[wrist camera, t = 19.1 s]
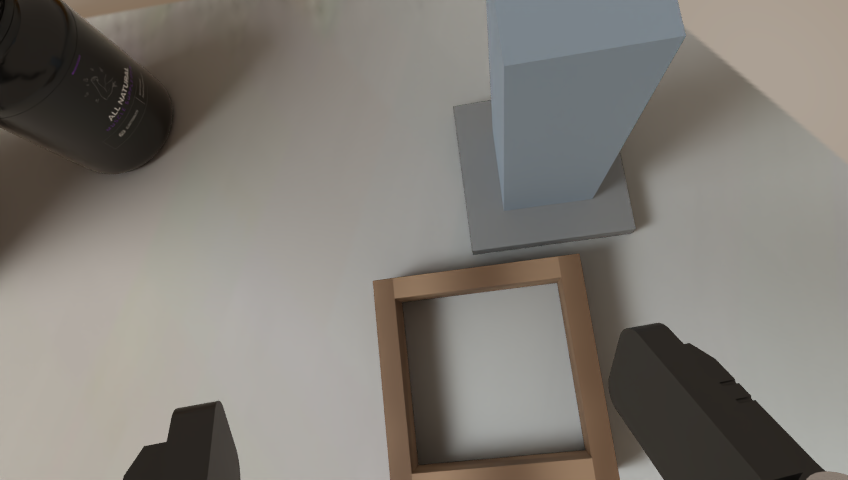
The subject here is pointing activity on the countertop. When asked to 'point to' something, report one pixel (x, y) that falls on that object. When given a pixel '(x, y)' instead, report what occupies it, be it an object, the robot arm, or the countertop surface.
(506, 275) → the well frame
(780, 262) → the countertop surface
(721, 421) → the robot arm
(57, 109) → the supplement bottle
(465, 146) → the charcoal mat
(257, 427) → the countertop surface
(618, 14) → the slate block
